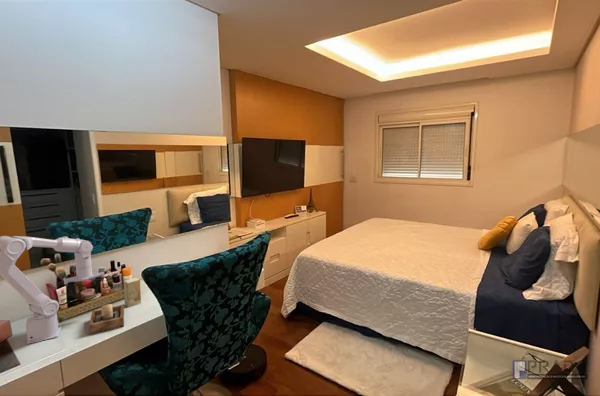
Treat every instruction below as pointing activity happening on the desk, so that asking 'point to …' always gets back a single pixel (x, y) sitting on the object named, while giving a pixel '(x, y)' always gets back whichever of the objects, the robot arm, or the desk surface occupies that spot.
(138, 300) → the skincare box
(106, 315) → the maple peg
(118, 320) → the socket box
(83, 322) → the desk surface
